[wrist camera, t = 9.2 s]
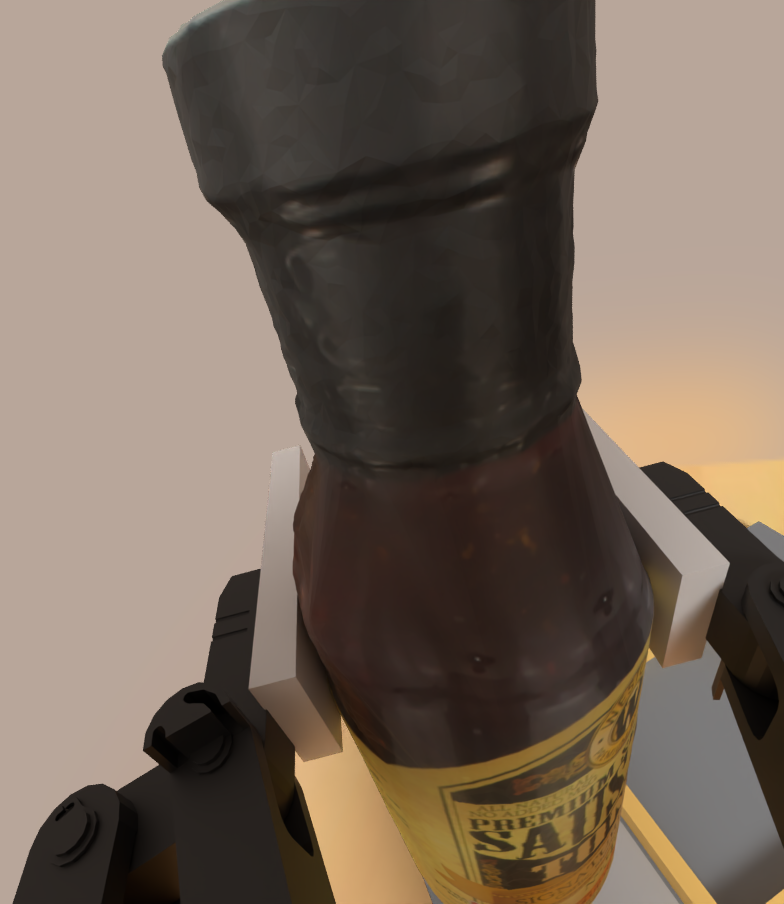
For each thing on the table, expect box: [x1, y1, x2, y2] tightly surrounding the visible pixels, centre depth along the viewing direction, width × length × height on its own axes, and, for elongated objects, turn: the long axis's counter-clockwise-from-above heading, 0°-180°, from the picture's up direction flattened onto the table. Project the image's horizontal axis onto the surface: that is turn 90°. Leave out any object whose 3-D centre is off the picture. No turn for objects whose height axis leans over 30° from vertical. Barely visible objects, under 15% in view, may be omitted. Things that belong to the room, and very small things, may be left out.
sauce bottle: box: [162, 0, 654, 904], centre depth 10 cm, size 7×6×20 cm
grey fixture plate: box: [423, 522, 784, 904], centre depth 25 cm, size 31×18×3 cm, turn 114°
